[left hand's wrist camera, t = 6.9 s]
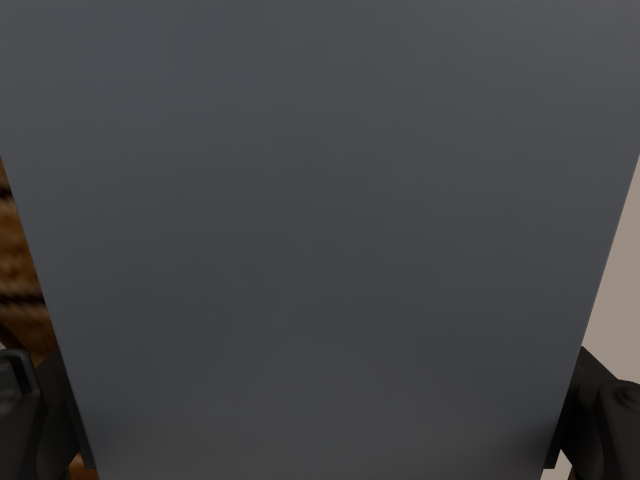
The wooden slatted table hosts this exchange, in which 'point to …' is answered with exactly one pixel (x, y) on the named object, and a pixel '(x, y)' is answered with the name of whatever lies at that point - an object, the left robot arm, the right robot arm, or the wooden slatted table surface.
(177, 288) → the long dark gray bar
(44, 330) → the wooden slatted table surface
